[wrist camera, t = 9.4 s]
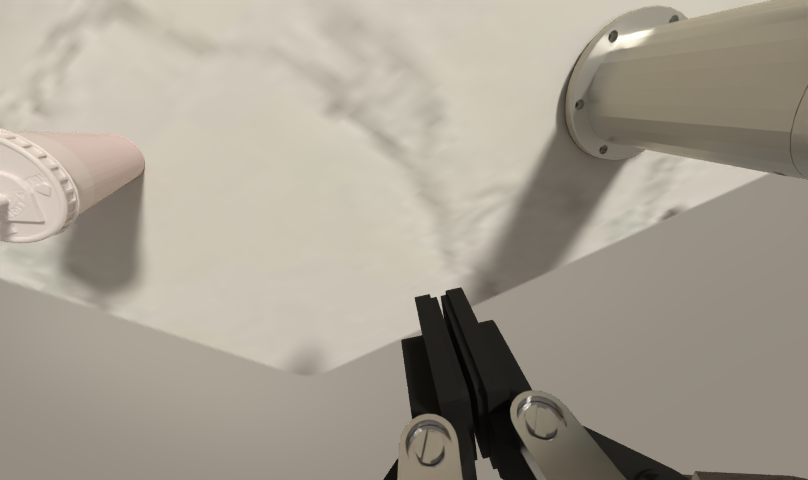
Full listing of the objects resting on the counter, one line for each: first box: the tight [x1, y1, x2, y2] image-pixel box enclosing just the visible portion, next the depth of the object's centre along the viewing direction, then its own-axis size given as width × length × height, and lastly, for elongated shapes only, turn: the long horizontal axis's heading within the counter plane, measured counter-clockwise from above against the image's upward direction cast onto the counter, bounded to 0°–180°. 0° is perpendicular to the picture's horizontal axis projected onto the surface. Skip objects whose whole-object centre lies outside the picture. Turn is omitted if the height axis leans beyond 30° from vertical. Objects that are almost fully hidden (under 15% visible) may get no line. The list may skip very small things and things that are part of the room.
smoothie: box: [0, 128, 145, 243], centre depth 18 cm, size 6×6×14 cm
